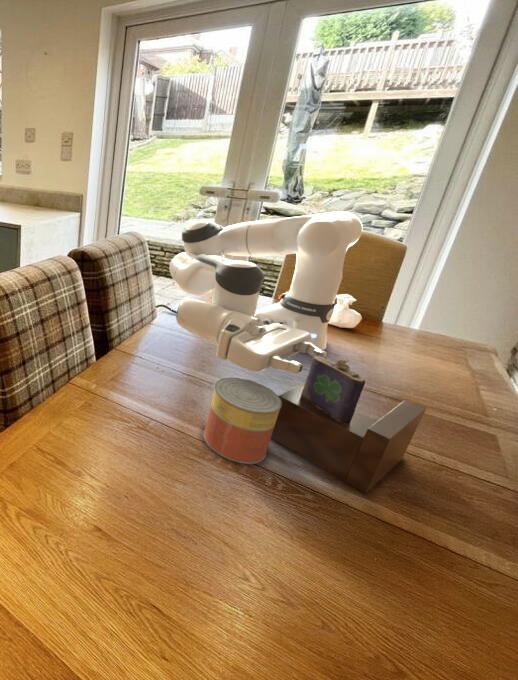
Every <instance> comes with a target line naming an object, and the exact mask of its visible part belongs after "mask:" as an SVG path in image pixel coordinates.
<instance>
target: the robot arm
mask: <svg viewBox="0 0 518 680" xmlns="http://www.w3.org/2000/svg"><path fill="white" fill-rule="evenodd" d="M362 223H363V222H362V221H361V219H360V218H359V217H358V216H356V215H355V214H354V213H351V212H348V211H331V212H329V211H328V212H321V213H313V214H305V215H300V216H299V215H298V216H290V217H285V218H284V217H283V218H273V219H263V220H262V219H261V220H254V221H245V222H240V223H236V224H231V225H227V226H225V227H224V226H223V225H222V224H217V223H216V222H214V221H211V220H209V219H200V220H196V221H192V222H191V223H188V224H187V225H185V226H184V228H183V229H182V231H181V240H182V243H183V249H184V252H180V253H178V254H176V255H174V257H173V258H172V259H171V260H170V262H169V266H168V267H169V268H168V269H169V273H170V276H171V278H172V281H173V282H174V283H175V284H176V286H177V288H179V290H181V291H182V292H183V293H184V294H186V295H188V296H187V297H184V298H183V299H182V300H181V301H180V303H179V305H178V307H177V310H174V309H173V308H171V307H169V306H167V305H165V304H157V305H155V306H154V308H156V309H158V308H165V309H166V310H168V311H170V312H171V313H174V314H176V317H175V319H176V323H177V325H178V326H179V327H180V328H181V329H183V330H185V331H186V332H188V333H190V334H191V335H193V336H195V337H198V338H200V339H202V340H205V341H209V342H213V343H214V344H216V345H217V348H216V354H215V355H216V356H215V357H217V358H218V359H221V360H224V361H225V360H227V361H229V362H230V363H231V364H234V365H236V366H238V367H241V368H243V369H245V370H247V371H250V372H257V373H258V372H259V373H260V372H262V371H263V370H266V369H268V368H271V369H275V370H280V371H287V372H289V373H292V374H294V375H297V374H299V373H301V372H302V370H303V367H304V364H302V363H301V362H298V361H296V360H287V359H288V358H290V357H293V356H294V355H297V354H299V353H304V354H308V355H310V356H311V359H313V358H314V357H316V356H319V357H323V358H326V359H327V355H328V352H327V351H326V349H327V333H328V327H329V324H328V322H329V321H330V319H331V317H332V315H333V312H334V307H335V305H336V302H335V301H336V299H337V298H336V295H338V292H339V289H340V285H341V283H342V280H343V276H344V275H343V270H344V263H345V257H346V254H347V251H348V249H349V248H350V247H352V246H354V245H355V244H356V243H357V242H358V241H359V239H360V238H361V236H362V233H363V229H364V228H363V224H362ZM295 254H296V260H295V269H294V272H293V276H292V280H291V284H290V288H289V290H286V291H285V292H284V293H282V294H280V295H278V298H277V300H279V302H276V303H273V304H269V305H266V306H264V307H262V308H260V309H258V310H257V307H258V302H259V297H260V292H261V290H262V286H263V283H264V280H265V277H266V275H265V273H264V272H263V270H262V269H261V268H260V267H259V265H258V264H256V263H254V262H250V261H247V260H238V259H234V258H231V257H228V255H229V256H237V257H267V256H268V257H269V256H286V255H295ZM225 255H227V256H225ZM211 292H212V298H211V301H208V300H204V299H200V298H195V297H201V296H206V295H208V294H210V293H211ZM190 296H191V297H190ZM171 309H172V310H171ZM256 310H257V311H256Z"/></svg>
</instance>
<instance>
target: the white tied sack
mask: <svg viewBox="0 0 518 680" xmlns="http://www.w3.org/2000/svg"><path fill="white" fill-rule="evenodd" d="M335 299H336V304H335V307H334V312H333V315H332V317H331V319H330V321H329V322H328V325H332V326H335V327H338V328H346V329H354V328H356V327H357V326H358V325H359V324H360V323H361V321H362V320H363V317H362V315H361V313H359V312H357V311H356V310H355V309H353V308H350V306H353V303H354V302H356V301H358V300H357V299H356V298H354V297H353V295H350V294H349V293H343V294H337V295H336V298H335Z"/></svg>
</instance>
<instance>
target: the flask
mask: <svg viewBox="0 0 518 680" xmlns="http://www.w3.org/2000/svg"><path fill="white" fill-rule="evenodd" d="M347 362H350V360H349V359H348V358H344V357H342V358H335V360H334V361H333V360H331V359H329V358H327V357H326V358H323V357H319V356H316V357H314V358H312V360H311V365H310V368H309V371H308V373H307V377H306V379H305V382H304V388H303V390H302V394H301V396H302V397H303V398H304V399H305V400H306V401H309V402H311V403H312V404H313V405H314V406H316V407H317V408H319V409H321V410H324V411H325V413H327V414H329V415H331V417H333V418H335V419H336V420H337V421H340V422H342V423H345V424H348V423H350V422H351V419H352V417H353V415H354V412H355V410H356V409H357V405H358V403H359V401H360V397H361V395H362V393H363V390H364V387H365V384H366V379H365V377H363V376H360V374H359V373H358V372H356V371H353V370H351V367H350V366H349V364H346V363H347Z"/></svg>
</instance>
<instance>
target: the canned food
mask: <svg viewBox="0 0 518 680" xmlns="http://www.w3.org/2000/svg"><path fill="white" fill-rule="evenodd" d="M281 406H282V401H281V399H280V398H279V395H278V394H277V393H276V392H275V391H274V390H273V389H271V388H269V387H268V386H266V385H264V384H261V383H259V382H257V381H253V380H250V379H247V378H241V377H223V378H221V379H219V380H217V381H216V382H215V383H214V390H213V395H212V399H211V402H210V407H209V410H208V411H209V412H208V416H207V419H206V424H205V429H204V431H203V440H204V442H205V443H206V445H207V446H208V447H209V448H210V449H211V450H212V451H213V452H215V454H218V455H219V456H221V457H223V458H224V459H227V460H229V461H232V462H235V463H238V464H239V463H240V464H246V465H252V464H259V463H260V462H262V461H264V460H265V458H266V456H267V452H268V449H269V446H270V445H269V444H270V442H271V440H272V439H271V436H272V432H273V429H274V426H275V423H276V420H277V417H278V413H279V410H280V408H281Z"/></svg>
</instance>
